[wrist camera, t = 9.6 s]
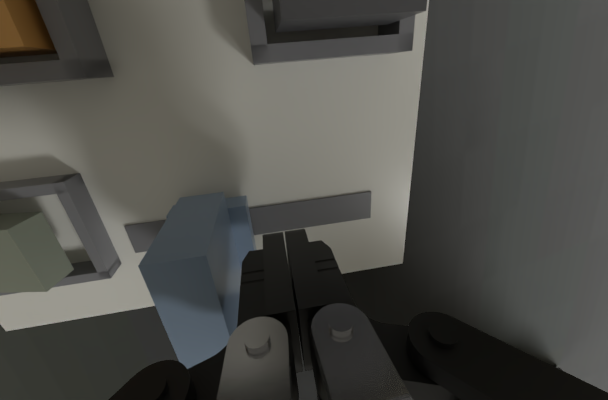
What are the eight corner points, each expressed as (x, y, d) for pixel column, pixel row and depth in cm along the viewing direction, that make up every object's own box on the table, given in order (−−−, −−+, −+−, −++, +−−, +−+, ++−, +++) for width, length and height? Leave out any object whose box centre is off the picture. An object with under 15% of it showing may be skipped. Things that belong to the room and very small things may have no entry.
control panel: (409, -190, 10) (508, -360, 6) (384, 238, 17) (419, 284, 14) (-284, -202, 7) (-834, -481, 4) (42, 293, 15) (-28, 365, 11)
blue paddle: (243, 180, 11) (235, 250, 7) (259, 264, 13) (260, 363, 9) (168, 189, 11) (107, 270, 6) (195, 274, 13) (162, 383, 8)
